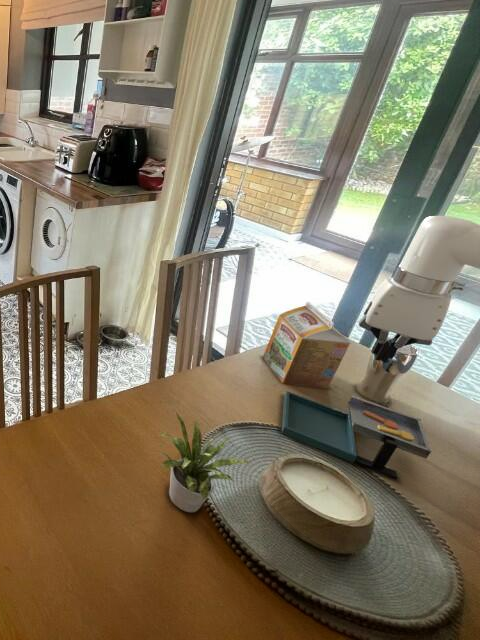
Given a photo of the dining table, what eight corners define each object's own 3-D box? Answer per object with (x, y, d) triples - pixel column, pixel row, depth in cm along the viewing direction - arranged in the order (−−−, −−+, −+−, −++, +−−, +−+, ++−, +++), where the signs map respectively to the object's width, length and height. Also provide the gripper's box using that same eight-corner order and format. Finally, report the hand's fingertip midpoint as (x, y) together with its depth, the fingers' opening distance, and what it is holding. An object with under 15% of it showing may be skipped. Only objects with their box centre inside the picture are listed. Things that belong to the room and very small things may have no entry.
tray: (348, 420, 95) (351, 414, 94) (353, 462, 84) (357, 456, 83) (284, 396, 101) (286, 390, 100) (281, 433, 91) (284, 427, 90)
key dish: (416, 426, 86) (420, 419, 85) (426, 459, 78) (431, 451, 78) (348, 402, 92) (351, 395, 91) (351, 430, 84) (355, 423, 83)
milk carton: (327, 388, 104) (358, 325, 96) (282, 383, 106) (309, 321, 98) (303, 361, 114) (330, 302, 106) (262, 357, 115) (285, 299, 107)
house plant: (121, 473, 81) (137, 412, 74) (175, 452, 86) (194, 393, 79) (178, 544, 69) (203, 479, 62) (237, 516, 74) (266, 453, 67)
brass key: (410, 434, 83) (411, 432, 83) (415, 442, 81) (416, 440, 81) (376, 424, 85) (377, 423, 85) (380, 431, 83) (380, 430, 83)
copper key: (398, 425, 85) (399, 424, 85) (396, 430, 84) (397, 429, 84) (364, 409, 89) (365, 408, 89) (362, 414, 88) (363, 413, 87)
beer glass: (347, 387, 104) (372, 339, 98) (365, 382, 106) (391, 334, 100) (379, 407, 98) (408, 357, 92) (398, 401, 100) (427, 352, 94)
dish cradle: (386, 434, 91) (401, 409, 88) (396, 480, 81) (414, 453, 78) (350, 421, 94) (364, 396, 91) (356, 463, 84) (372, 437, 81)
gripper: (473, 285, 76) (425, 363, 84) (367, 263, 84) (332, 336, 92) (486, 301, 71) (434, 383, 79) (371, 276, 79) (334, 352, 87)
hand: (379, 357), depth 85 cm, fingers closed
